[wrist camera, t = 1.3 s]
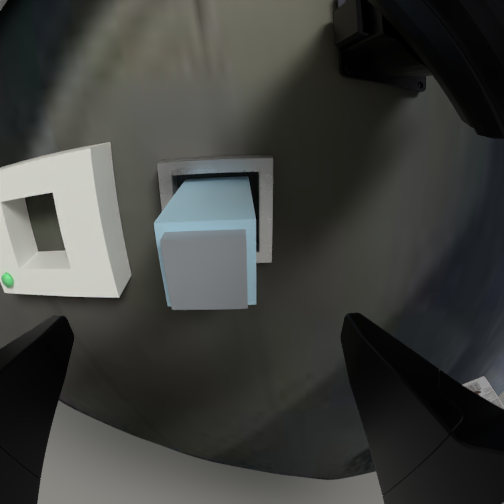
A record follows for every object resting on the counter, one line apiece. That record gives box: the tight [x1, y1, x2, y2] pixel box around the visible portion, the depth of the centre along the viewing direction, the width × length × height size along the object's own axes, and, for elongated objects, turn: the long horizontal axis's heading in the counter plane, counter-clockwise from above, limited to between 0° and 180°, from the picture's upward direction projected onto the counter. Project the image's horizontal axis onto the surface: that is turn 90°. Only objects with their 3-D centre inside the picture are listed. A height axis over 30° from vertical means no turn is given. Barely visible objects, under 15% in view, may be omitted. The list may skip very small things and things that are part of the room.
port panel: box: [0, 142, 131, 298], centre depth 17 cm, size 12×10×3 cm
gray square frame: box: [157, 155, 273, 263], centre depth 19 cm, size 7×7×2 cm
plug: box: [154, 177, 256, 310], centre depth 15 cm, size 4×4×9 cm
